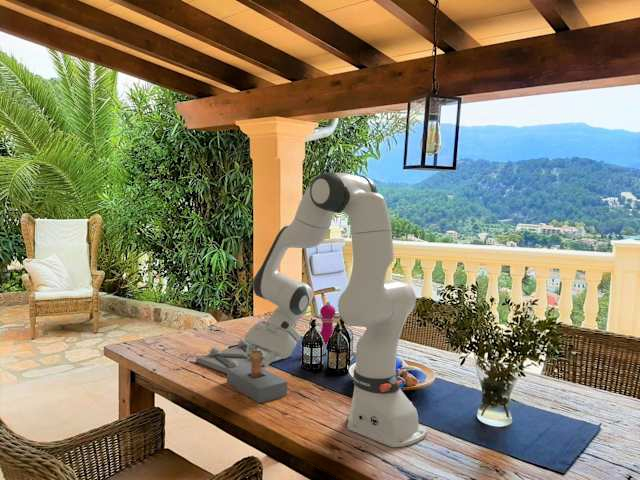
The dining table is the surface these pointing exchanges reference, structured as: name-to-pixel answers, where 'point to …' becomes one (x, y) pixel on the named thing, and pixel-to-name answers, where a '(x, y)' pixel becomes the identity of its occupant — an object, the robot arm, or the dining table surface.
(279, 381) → the socket block
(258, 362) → the peg
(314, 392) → the dining table surface
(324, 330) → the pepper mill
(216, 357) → the grey crossed stick tray
